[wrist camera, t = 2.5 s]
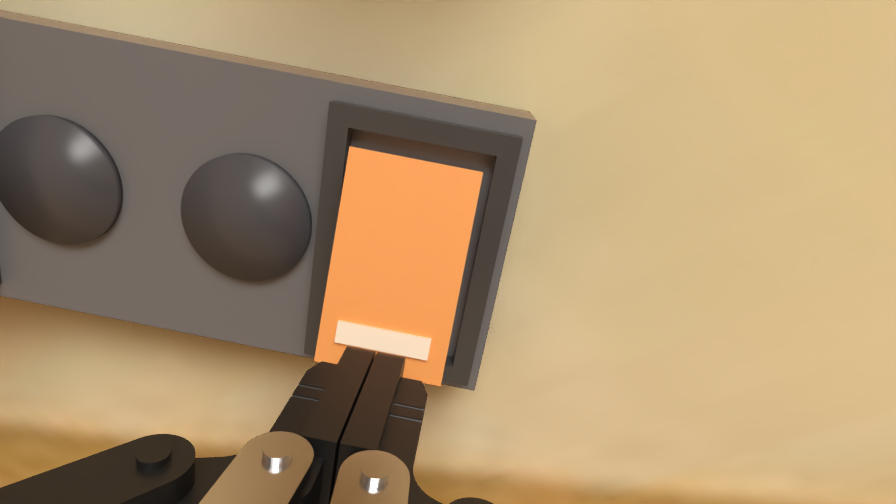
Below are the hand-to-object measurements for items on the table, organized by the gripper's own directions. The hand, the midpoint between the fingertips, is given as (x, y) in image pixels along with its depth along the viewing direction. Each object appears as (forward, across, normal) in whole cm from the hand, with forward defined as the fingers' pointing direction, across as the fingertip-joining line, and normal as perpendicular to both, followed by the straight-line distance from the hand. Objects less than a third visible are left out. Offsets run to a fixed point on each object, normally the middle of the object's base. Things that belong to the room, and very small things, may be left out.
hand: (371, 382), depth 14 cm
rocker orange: (+2, 0, -2) cm, 3 cm away
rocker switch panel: (+7, +8, -2) cm, 11 cm away
